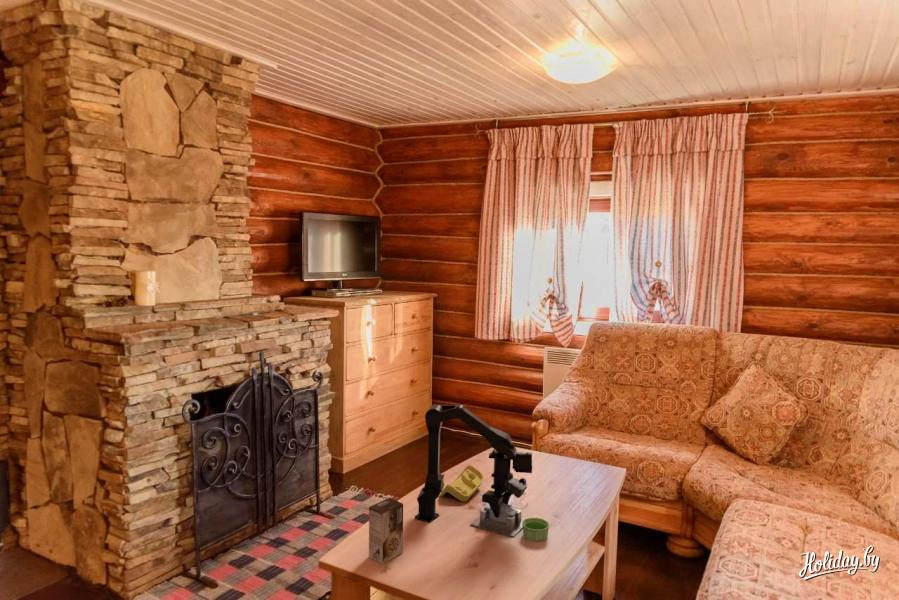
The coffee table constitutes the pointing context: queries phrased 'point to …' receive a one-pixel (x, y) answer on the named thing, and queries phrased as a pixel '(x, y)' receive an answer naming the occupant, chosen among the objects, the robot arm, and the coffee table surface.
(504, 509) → the servo
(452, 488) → the plastic component
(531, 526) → the ramekin
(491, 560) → the coffee table surface
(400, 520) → the coffee box
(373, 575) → the coffee table surface
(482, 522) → the chassis
